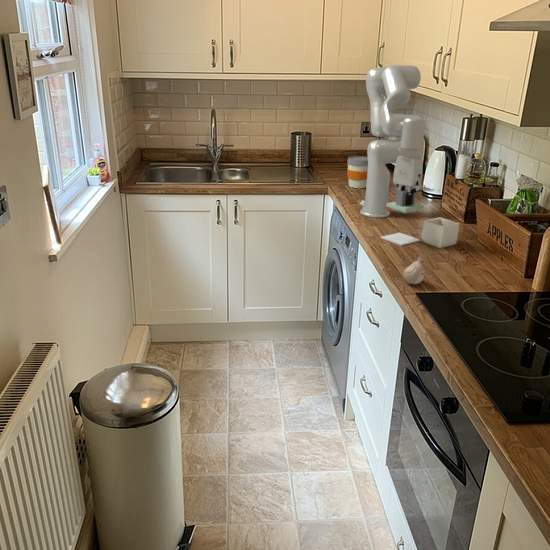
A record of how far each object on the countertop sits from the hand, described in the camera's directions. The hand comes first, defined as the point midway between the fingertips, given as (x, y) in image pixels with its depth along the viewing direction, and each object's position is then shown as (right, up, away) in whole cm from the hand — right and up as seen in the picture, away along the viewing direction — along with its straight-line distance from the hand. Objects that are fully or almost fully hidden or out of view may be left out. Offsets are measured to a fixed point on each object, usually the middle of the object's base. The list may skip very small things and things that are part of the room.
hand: (405, 203), depth 205 cm
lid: (0, -1, +1) cm, 2 cm away
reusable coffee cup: (-5, +19, +84) cm, 86 cm away
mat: (0, -13, +6) cm, 14 cm away
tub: (+13, -14, +4) cm, 20 cm away
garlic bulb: (-5, -29, -33) cm, 44 cm away
